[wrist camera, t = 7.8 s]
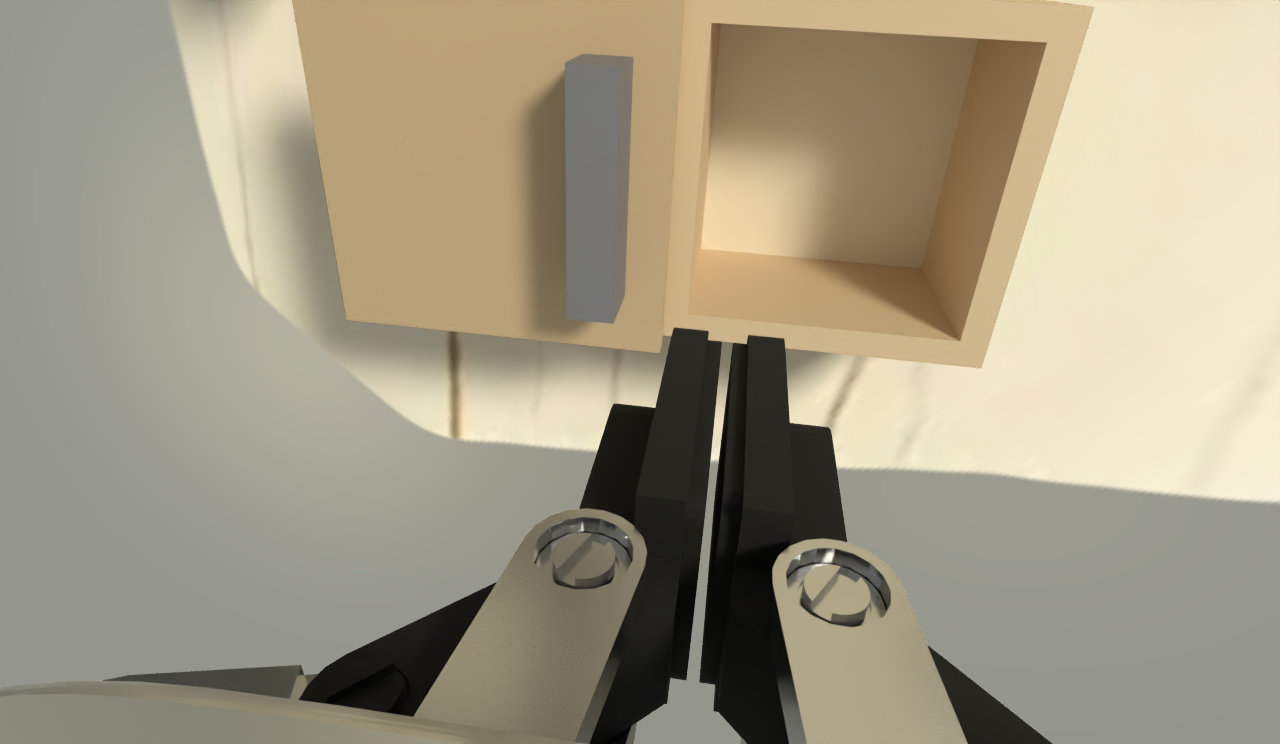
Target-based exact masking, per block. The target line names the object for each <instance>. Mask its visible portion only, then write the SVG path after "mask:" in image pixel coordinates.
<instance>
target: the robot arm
mask: <svg viewBox="0 0 1280 744" xmlns="http://www.w3.org/2000/svg"><path fill="white" fill-rule="evenodd" d="M708 336H709V331H705V330H695V329H686V328H676V327H674V328H673V332H672V337H671V341H670V345H669V350H668V354H667V359H666V363H665V368H664V372H663V377H662V381H661V385H660V390H659V394H658V399H657V403H656V408H651V407H642V406H633V405H624V404H613V406H612V408H611V411H610V414H609V417H608V420H607V423H606V427H605V430H604V433H603V436H602V439H601V442H600V445H599V449H598V452H597V455H596V458H595V461H594V464H593V468H592V470H591V474H590V477H589V480H588V483H587V486H586V489H585V492H584V496H583V499H582V502H581V505H580V508H579V509H576V510H567V511H564V512H560V513H557V514H554V515H551V516H549V517H548V518H546V519H544V520H543V521H541V522H540V523H538V524H536V525H535V527H533V529H532V530H531V531H530V532H529V533H528V534H527V535H526V536H525V538H524V540H523V541H522V543H521V544H520V546H519V548H518V549H517V551H516V552H515V554H514V556H513V557H512V559H511V560H510V562H509V564H508V565H507V567H506V569H505V570H504V572H503V573H502V575H501V577H500V578H499V580H498V581H497V582H496V583H494V584H492V585H490V586H488V587H486V588H484V589H481V590H479V591H477V592H475V593H473V594H471V595H469V596H467V597H465V598H463V599H461V600H459V601H456V602H454V603H452V604H450V605H448V606H446V607H444V608H442V609H440V610H438V611H436V612H433V613H431V614H429V615H427V616H426V617H423V618H421V619H419V620H417V621H415V622H413V623H411V624H408V625H406V626H404V627H402V628H400V629H398V630H396V631H394V632H392V633H390V634H388V635H386V636H383V637H381V638H379V639H377V640H375V641H373V642H371V643H369V644H367V645H365V646H363V647H361V648H359V649H357V650H355V651H352V652H350V653H348V654H346V655H345V656H343V657H341V658H340V659H338V660H336V661H335V662H333V663H331V664H330V665H328V666H327V667H325V668H324V669H323V670H322V671H321V672H320V673H319V674H313V675H304V673H303V670H302V666H301V665H292V666H275V667H258V668H241V669H224V670H207V671H190V672H173V673H156V674H139V675H127V676H122V677H117V678H112V679H107V680H103V681H66V682H53V683H41V684H28V685H15V686H9V687H4V688H0V744H633V743H634V738H635V732H636V726H637V722H638V721H639V720H641V719H642V718H644V717H645V716H647V715H648V714H650V713H651V712H652V711H654V710H656V709H657V708H659V707H660V706H662V705H663V704H667V700H668V691H669V683H670V678H674V679H681V680H686V678H687V669H688V660H689V651H690V643H691V633H692V625H693V616H694V607H695V598H696V589H697V580H698V571H699V562H700V554H701V545H702V536H703V527H704V517H705V508H706V499H707V489H708V478H709V468H710V458H711V448H712V438H713V428H714V417H715V407H716V397H717V386H718V376H719V366H720V355H721V345H722V341H712V340H708ZM700 682H701V683H708V684H715V695H714V711H716V712H719V713H720V714H721V715H722V716H723V717H724V719H725V720H726V721H727V722H728V723H729V724H730V725H731V726H732V727H733V729H734V730H735V731H736V732H737V733H738V734H739V735H740V736H741V744H1052V743H1050V742H1049V741H1048V740H1047V739H1046V738H1044V737H1043V736H1042V735H1041V734H1039V733H1038V732H1037V731H1036V730H1034V729H1033V728H1032V727H1030V726H1029V725H1028V724H1027V723H1025V722H1024V721H1023V720H1022V719H1020V718H1019V717H1018V716H1017V715H1015V714H1014V713H1013V712H1011V711H1010V710H1009V709H1008V708H1006V707H1005V706H1004V705H1003V704H1001V703H1000V702H999V701H997V700H996V699H995V698H994V697H992V696H991V695H990V694H989V693H987V692H986V691H985V690H984V689H982V688H981V687H980V686H979V685H977V684H976V683H975V682H973V681H972V680H971V679H970V678H968V677H967V676H966V675H965V674H963V673H962V672H961V671H959V670H958V669H957V668H956V667H954V666H953V665H952V664H951V663H949V662H948V661H947V660H945V659H944V658H943V657H942V656H941V655H939V654H938V653H937V652H935V651H934V650H933V649H931V648H930V647H929V646H927V644H926V642H925V639H924V636H923V634H922V632H921V630H920V627H919V624H918V622H917V619H916V617H915V615H914V612H913V610H912V607H911V605H910V603H909V600H908V598H907V595H906V593H905V590H904V588H903V586H902V584H901V583H900V581H899V579H898V578H897V576H896V574H895V573H894V571H893V570H892V569H891V568H890V567H888V566H887V565H886V564H885V563H884V562H883V561H882V560H881V559H880V558H879V557H877V556H875V555H873V554H872V553H870V552H868V551H867V550H865V549H863V548H861V547H858V546H856V545H853V544H850V543H847V539H846V531H845V524H844V517H843V510H842V504H841V497H840V489H839V482H838V476H837V468H836V461H835V454H834V447H833V440H832V434H831V430H830V429H829V428H828V427H820V426H811V425H802V424H793V423H790V421H789V404H788V388H787V371H786V354H785V340H784V338H775V337H765V336H755V335H748V338H747V344H742V343H733V348H732V356H731V364H730V372H729V381H728V389H727V398H726V406H725V414H724V423H723V431H722V439H721V448H720V456H719V464H718V473H717V481H716V491H715V501H714V513H713V524H712V537H711V548H710V561H709V572H708V585H707V597H706V609H705V621H704V633H703V645H702V657H701V669H700Z"/></svg>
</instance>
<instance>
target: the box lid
mask: <svg viewBox="0 0 1280 744" xmlns="http://www.w3.org/2000/svg"><path fill="white" fill-rule="evenodd" d="M292 2H293V8H294V14H295V20H296V26H297V32H298V38H299V43H300V49H301V55H302V61H303V67H304V73H305V79H306V85H307V90H308V96H309V102H310V108H311V114H312V120H313V126H314V132H315V137H316V143H317V149H318V155H319V161H320V167H321V173H322V179H323V184H324V190H325V196H326V202H327V208H328V214H329V220H330V226H331V231H332V237H333V243H334V249H335V255H336V261H337V267H338V273H339V278H340V284H341V290H342V296H343V302H344V308H345V314H346V320H351V321H360V322H370V323H379V324H388V325H398V326H407V327H417V328H426V329H436V330H445V331H455V332H464V333H474V334H483V335H492V336H502V337H511V338H521V339H530V340H540V341H549V342H559V343H568V344H577V345H587V346H596V347H606V348H615V349H625V350H634V351H644V352H653V353H660V351H661V347H662V340H663V325H664V310H665V295H666V279H667V264H668V249H669V234H670V218H671V203H672V188H673V173H674V157H675V142H676V127H677V112H678V96H679V81H680V66H681V51H682V35H683V20H684V5H685V0H292Z"/></svg>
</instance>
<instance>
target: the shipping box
mask: <svg viewBox="0 0 1280 744" xmlns="http://www.w3.org/2000/svg"><path fill="white" fill-rule="evenodd" d="M1093 9H1094V7H1091V6H1083V5H1076V4H1068V3H1061V2H1053V1H1045V0H685V5H684V20H683V35H682V51H681V66H680V81H679V96H678V112H677V127H676V142H675V157H674V173H673V188H672V203H671V218H670V234H669V249H668V264H667V279H666V295H665V310H664V325H663V336H672V332H673V328H674V327H676V328H686V329H695V330H705V331H709V336H708V340H712V341H722V342H731V343H742V344H747V338H748V335H755V336H765V337H775V338H784V340H785V348H789V349H798V350H808V351H818V352H827V353H837V354H847V355H856V356H866V357H876V358H885V359H895V360H905V361H915V362H924V363H934V364H944V365H953V366H963V367H973V368H982V364H983V361H984V358H985V355H986V352H987V348H988V345H989V342H990V339H991V336H992V332H993V329H994V326H995V323H996V320H997V316H998V313H999V310H1000V307H1001V304H1002V300H1003V297H1004V294H1005V291H1006V288H1007V284H1008V281H1009V278H1010V275H1011V272H1012V268H1013V265H1014V262H1015V259H1016V256H1017V252H1018V249H1019V246H1020V243H1021V240H1022V236H1023V233H1024V230H1025V227H1026V224H1027V220H1028V217H1029V214H1030V211H1031V208H1032V204H1033V201H1034V198H1035V195H1036V192H1037V188H1038V185H1039V182H1040V179H1041V176H1042V172H1043V169H1044V166H1045V163H1046V160H1047V157H1048V153H1049V150H1050V147H1051V144H1052V141H1053V137H1054V134H1055V131H1056V128H1057V125H1058V121H1059V118H1060V115H1061V112H1062V109H1063V105H1064V102H1065V99H1066V96H1067V93H1068V89H1069V86H1070V83H1071V80H1072V77H1073V73H1074V70H1075V67H1076V64H1077V61H1078V57H1079V54H1080V51H1081V48H1082V45H1083V41H1084V38H1085V35H1086V32H1087V29H1088V25H1089V22H1090V19H1091V16H1092V13H1093Z"/></svg>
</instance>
